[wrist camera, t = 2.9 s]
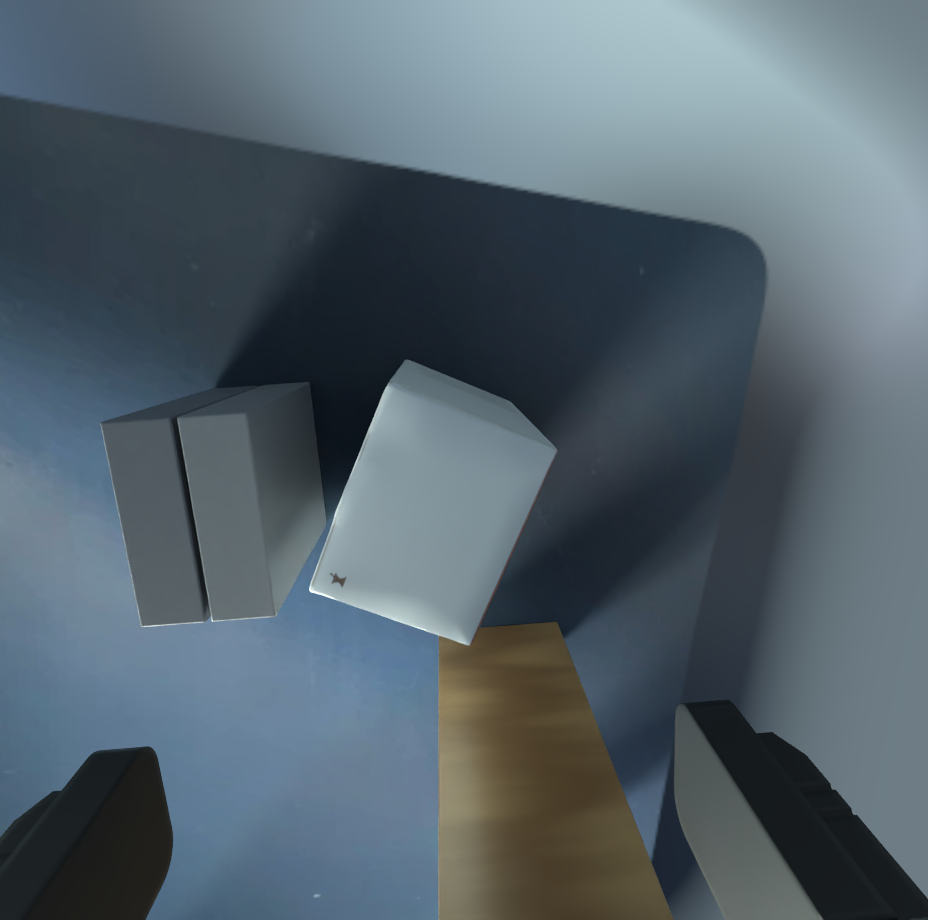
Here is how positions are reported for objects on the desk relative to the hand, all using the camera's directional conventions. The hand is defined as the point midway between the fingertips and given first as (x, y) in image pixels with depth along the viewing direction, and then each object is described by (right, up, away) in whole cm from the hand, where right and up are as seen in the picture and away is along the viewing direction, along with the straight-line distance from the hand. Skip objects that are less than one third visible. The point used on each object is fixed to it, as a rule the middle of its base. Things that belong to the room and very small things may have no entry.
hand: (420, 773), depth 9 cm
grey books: (-10, +5, +24) cm, 26 cm away
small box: (-1, +6, +24) cm, 25 cm away
